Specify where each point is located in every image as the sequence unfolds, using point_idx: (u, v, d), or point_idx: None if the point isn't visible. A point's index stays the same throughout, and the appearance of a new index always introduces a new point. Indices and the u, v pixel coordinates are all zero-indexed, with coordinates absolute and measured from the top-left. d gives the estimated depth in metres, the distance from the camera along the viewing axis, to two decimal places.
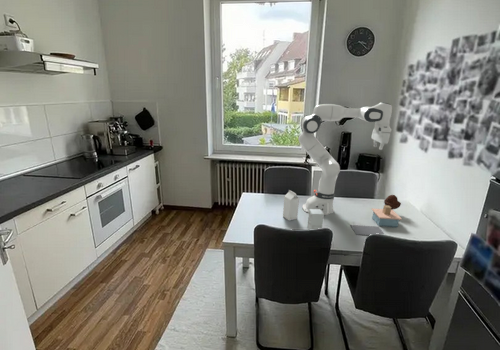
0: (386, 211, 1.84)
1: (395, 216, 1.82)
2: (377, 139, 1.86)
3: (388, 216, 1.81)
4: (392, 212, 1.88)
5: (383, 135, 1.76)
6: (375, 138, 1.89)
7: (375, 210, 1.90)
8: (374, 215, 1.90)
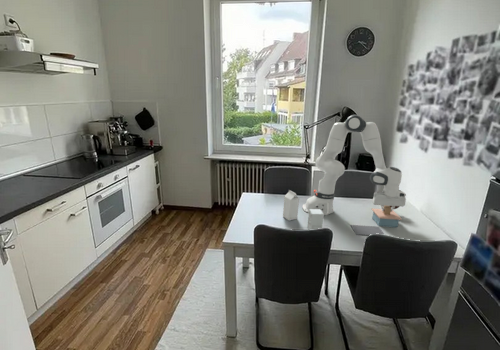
0: (386, 211, 1.84)
1: (395, 216, 1.82)
2: (390, 203, 1.82)
3: (388, 216, 1.81)
4: (392, 212, 1.88)
5: None
6: (386, 203, 1.82)
7: (375, 210, 1.90)
8: (374, 215, 1.90)
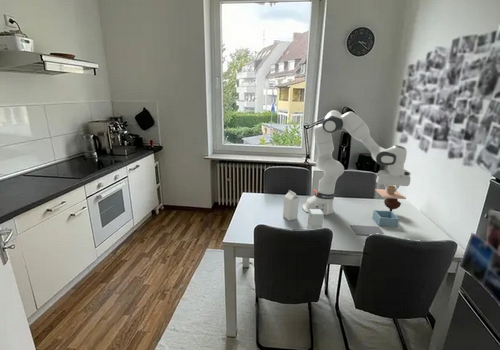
0: (390, 191, 1.80)
1: (399, 196, 1.78)
2: (394, 183, 1.78)
3: (392, 196, 1.77)
4: (396, 192, 1.84)
5: None
6: (390, 182, 1.78)
7: (379, 190, 1.86)
8: (374, 215, 1.90)
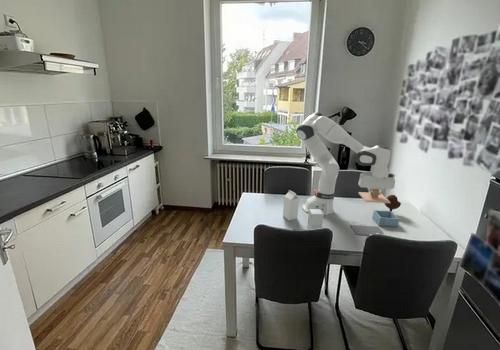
0: (373, 194, 1.66)
1: (383, 199, 1.64)
2: (378, 185, 1.65)
3: (376, 199, 1.64)
4: (380, 196, 1.70)
5: (394, 180, 1.63)
6: (373, 185, 1.65)
7: (362, 193, 1.73)
8: (374, 215, 1.90)
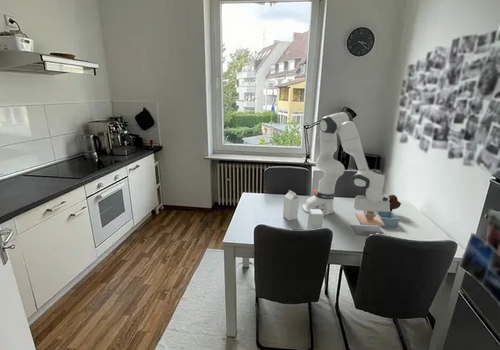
0: (369, 217, 1.70)
1: (378, 222, 1.68)
2: (373, 208, 1.68)
3: (371, 222, 1.68)
4: (376, 217, 1.74)
5: None
6: (368, 208, 1.69)
7: (358, 215, 1.77)
8: None
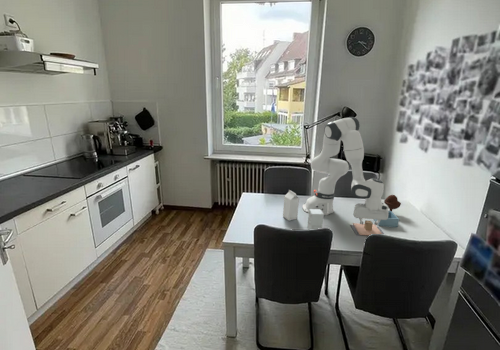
0: (367, 227, 1.73)
1: (377, 232, 1.71)
2: (372, 216, 1.71)
3: (369, 232, 1.71)
4: (374, 227, 1.77)
5: (388, 212, 1.69)
6: (367, 216, 1.71)
7: (357, 225, 1.79)
8: None
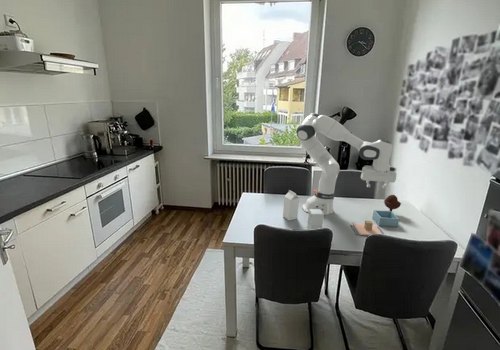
0: (367, 227, 1.73)
1: (377, 232, 1.71)
2: (380, 179, 1.70)
3: (369, 232, 1.71)
4: (374, 227, 1.77)
5: None
6: (375, 178, 1.70)
7: (357, 225, 1.79)
8: (374, 215, 1.90)
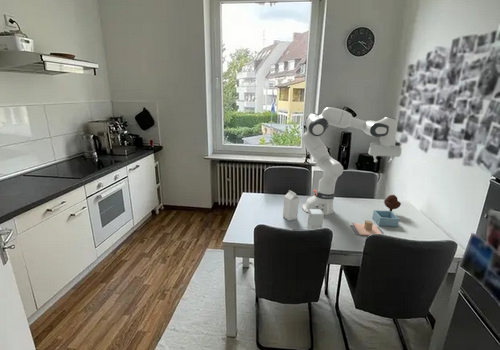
0: (367, 227, 1.73)
1: (377, 232, 1.71)
2: (386, 153, 1.83)
3: (369, 232, 1.71)
4: (374, 227, 1.77)
5: None
6: (382, 153, 1.84)
7: (357, 225, 1.79)
8: (374, 215, 1.90)
